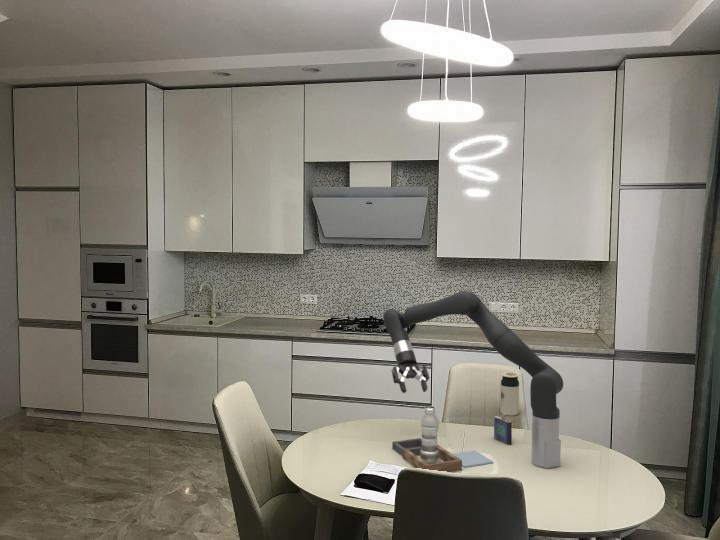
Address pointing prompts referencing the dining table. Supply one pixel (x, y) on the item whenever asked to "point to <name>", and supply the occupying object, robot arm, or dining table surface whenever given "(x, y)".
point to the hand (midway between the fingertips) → (415, 391)
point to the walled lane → (448, 464)
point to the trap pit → (408, 446)
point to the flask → (503, 429)
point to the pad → (472, 459)
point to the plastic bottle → (429, 436)
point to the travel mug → (509, 394)
